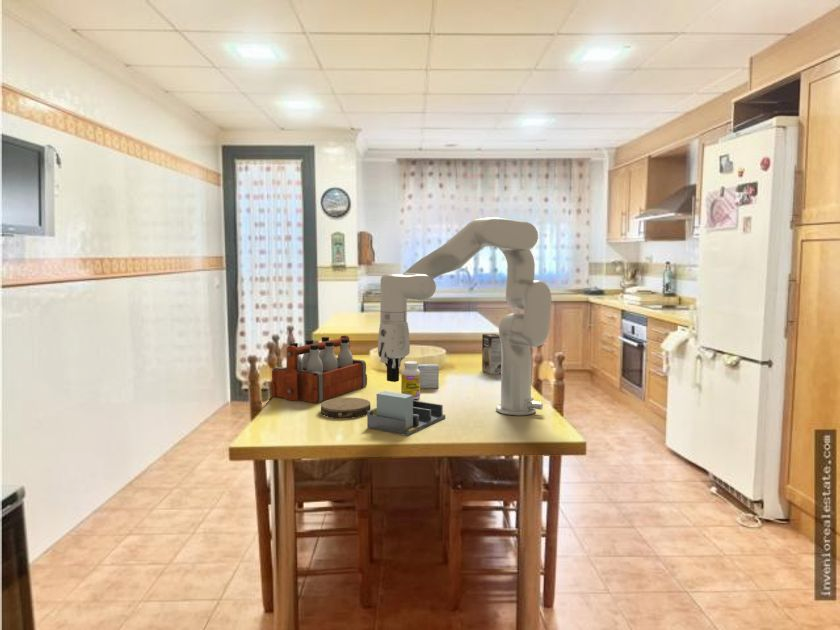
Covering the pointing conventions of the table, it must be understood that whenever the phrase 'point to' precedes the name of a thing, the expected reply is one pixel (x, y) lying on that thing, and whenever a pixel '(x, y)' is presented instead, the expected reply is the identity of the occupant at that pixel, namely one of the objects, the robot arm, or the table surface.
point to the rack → (421, 418)
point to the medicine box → (429, 375)
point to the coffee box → (491, 353)
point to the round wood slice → (345, 407)
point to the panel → (395, 406)
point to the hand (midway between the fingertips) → (392, 380)
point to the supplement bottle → (410, 379)
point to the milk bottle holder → (318, 371)
